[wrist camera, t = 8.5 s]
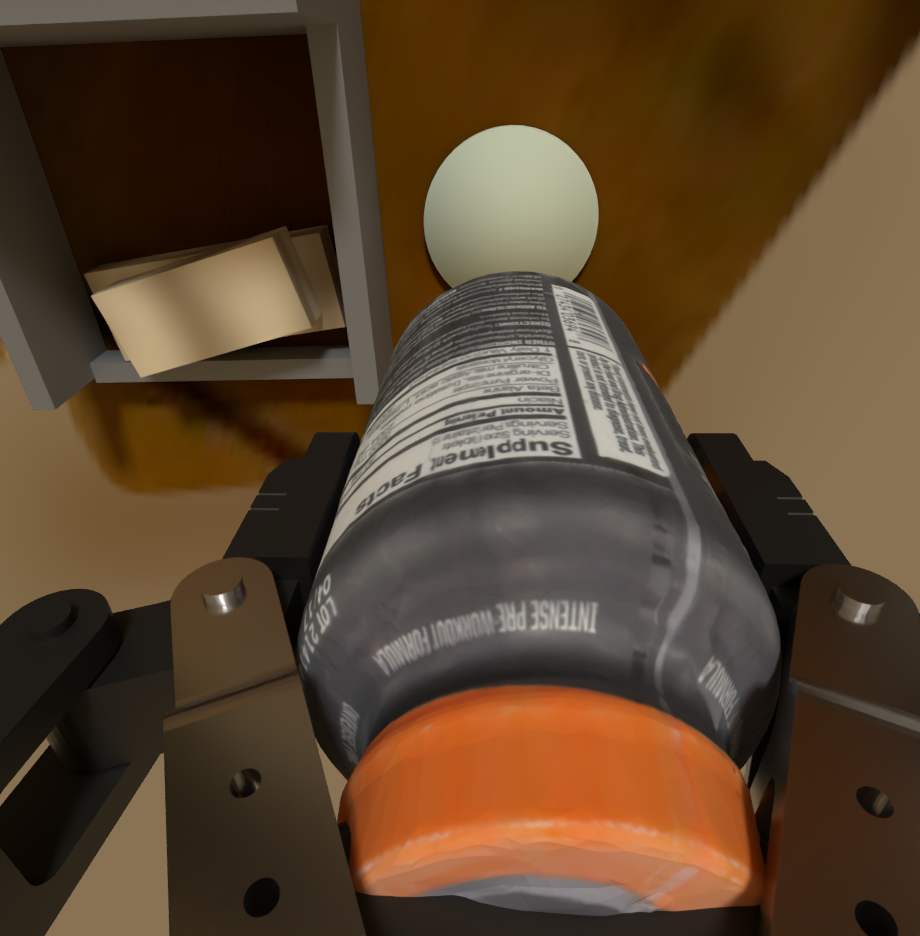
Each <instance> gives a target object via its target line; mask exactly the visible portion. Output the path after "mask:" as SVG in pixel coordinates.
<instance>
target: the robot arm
mask: <svg viewBox="0 0 920 936" xmlns="http://www.w3.org/2000/svg"><path fill="white" fill-rule="evenodd" d="M687 441H688V443H689V444H690V446H691V447H692V450H693V452H694V454H695V455H696V457H697V459H698V461H699V463H700V464H701V466H702V468H703V470H704V472H705V474H706V477H707V479H708V481H709V483H710V485H711V487H712V488H713V490H714V492H715V494H716V496H717V498H718V500H719V502H720V503H721V505H722V506H723V508H724V509H725V511H726V514H727V516H728V519H729V521H730V522H731V524H732V526H733V527H734V529H735V531H736V532H737V534H738V536H739V537H740V540H741V543H742V544H743V546H744V547H745V549H746V550H747V552H748V555H749V557H750V560H751V562H752V565H753V567H754V568H755V570H756V571H757V573H758V575H759V578H760V580H761V582H762V584H763V585H764V587H765V590H766V592H767V595H768V597H769V599H770V602H771V604H772V607H773V609H774V612H775V615H776V619H777V624H778V628H779V633H780V641H781V650H782V673H781V681H780V688H779V695H778V699H777V702H776V706H775V709H774V713H773V716H772V719H771V721H770V723H769V726H768V728H767V730H766V732H765V734H764V736H763V738H762V739H761V741H760V743H759V745H758V746H757V748H756V750H755V751H754V753H753V754H752V755H751V757H750V758H749V760H748V761H747V762H746V768H745V774H744V779H745V782H746V784H747V786H748V789H749V791H750V794H751V799H752V804H753V809H754V814H755V819H756V825H757V829H758V832H759V835H760V848H761V851H762V856H763V860H764V864H765V875H764V886H763V892H762V899H761V905H756V906H730V907H716V908H705V909H695V910H685V911H653V912H650V913H649V912H633V913H621V914H615V915H609V916H590V915H574V914H560V913H548V912H535V911H522V910H515V909H509V908H503V907H499V906H494V905H489V904H485V903H480V902H477V901H474V900H472V899H469V898H467V897H462V896H457V895H442V896H425V897H397V896H380V895H368V894H364V893H360V892H356V891H354V887H353V883H352V879H351V875H350V871H349V860H350V849H351V831H350V827H349V825H348V823H347V822H346V821H345V822H342V823H340V824H337V821H336V817H335V813H334V809H333V805H332V801H331V797H330V794H329V790H328V786H327V782H326V778H325V774H324V770H323V766H322V762H321V759H320V755H319V751H318V747H317V743H316V739H315V735H314V731H313V728H312V724H311V720H310V716H309V712H308V708H307V704H306V700H305V697H304V693H303V689H302V685H301V681H300V677H299V673H298V670H297V667H296V648H297V638H298V633H299V629H300V625H301V621H302V617H303V612H304V608H305V606H306V604H307V602H308V599H309V595H310V592H311V589H312V585H313V582H314V580H315V577H316V574H317V571H318V568H319V566H320V563H321V560H322V557H323V554H324V551H325V548H326V545H327V542H328V539H329V536H330V533H331V530H332V527H333V524H334V520H335V517H336V514H337V511H338V507H339V503H340V499H341V496H342V493H343V490H344V487H345V485H346V482H347V479H348V476H349V473H350V470H351V467H352V465H353V462H354V459H355V457H356V454H357V451H358V448H359V445H360V439H359V436H358V434H357V433H356V432H317V433H316V434H315V435H314V437H313V439H312V441H311V443H310V445H309V447H308V450H307V452H306V454H305V456H304V458H303V459H287V460H286V461H284V462H283V463H282V464H281V465H279V466H278V467H277V468H275V469H274V470H273V471H272V472H270V473H269V474H268V476H267V478H266V480H265V481H264V483H263V485H262V487H261V489H260V491H259V495H257V496H256V498H255V500H254V501H253V503H252V505H251V510H249V511H248V513H247V514H246V516H245V518H244V520H243V522H242V523H241V525H240V527H239V529H238V531H237V533H236V535H235V537H234V538H233V540H232V542H231V544H230V546H229V548H228V549H227V551H226V553H225V555H224V556H223V558H222V559H221V560H217V561H214V562H211V563H208V564H206V565H204V566H202V567H200V568H198V569H196V570H194V571H193V572H191V573H190V574H189V575H187V576H186V577H185V578H184V579H183V580H182V581H181V582H180V583H179V584H178V585H177V587H176V588H175V590H174V592H173V594H172V597H171V600H169V601H165V602H161V603H158V604H153V605H148V606H144V607H139V608H135V609H130V610H125V611H121V612H116V613H112V611H111V608H110V606H109V604H108V602H107V600H106V599H105V597H104V596H103V595H101V594H100V593H98V592H95V591H93V590H88V589H70V590H64V591H59V592H55V593H52V594H49V595H46V596H44V597H41V598H39V599H36V600H34V601H32V602H30V603H29V604H27V605H25V606H23V607H22V608H20V609H19V610H18V611H16V612H15V613H13V614H12V615H11V616H10V617H9V618H7V619H6V620H5V621H4V622H3V623H2V624H1V625H0V794H1V792H2V791H3V790H4V788H5V787H6V786H7V784H8V783H9V782H10V781H11V780H12V778H13V777H14V776H15V775H16V774H17V772H18V771H19V770H20V769H21V768H22V766H23V765H24V764H25V762H26V761H27V760H28V759H29V758H30V756H31V755H32V754H33V753H34V752H35V750H36V749H37V748H38V747H39V745H40V744H41V743H42V742H43V741H44V740H45V738H46V739H47V740H48V742H49V744H50V745H49V746H48V748H47V749H46V750H45V751H44V753H43V754H42V755H41V756H40V758H39V759H38V760H37V761H36V763H35V764H34V765H33V766H32V768H31V769H30V770H29V771H28V773H27V774H26V775H25V776H24V777H23V779H22V780H21V781H20V783H19V784H18V785H17V786H16V787H15V789H14V790H13V791H12V793H11V794H10V795H9V796H8V797H7V799H6V800H5V801H4V803H3V804H2V805H1V806H0V936H45V934H46V933H47V931H48V930H49V928H50V926H51V925H52V923H53V922H54V920H55V919H56V917H57V915H58V914H59V912H60V911H61V909H62V907H63V906H64V904H65V903H66V901H67V900H68V898H69V897H70V895H71V893H72V892H73V890H74V889H75V887H76V885H77V884H78V882H79V881H80V879H81V878H82V876H83V875H84V873H85V871H86V870H87V868H88V867H89V865H90V863H91V862H92V860H93V859H94V857H95V856H96V854H97V853H98V851H99V849H100V848H101V846H102V845H103V843H104V842H105V840H106V838H107V837H108V835H109V834H110V832H111V831H112V829H113V827H114V826H115V824H116V823H117V821H118V820H119V818H120V817H121V815H122V813H123V812H124V810H125V808H126V807H127V805H128V804H129V802H130V801H131V799H132V798H133V796H134V795H135V793H136V791H137V790H138V788H139V787H140V785H141V783H142V782H143V780H144V779H145V777H146V776H147V774H148V773H149V771H150V769H151V768H152V766H153V765H154V763H155V761H156V760H157V758H158V757H159V755H160V754H162V753H164V775H165V809H166V843H167V876H168V907H169V908H168V909H169V936H920V613H919V612H918V609H917V607H916V605H915V603H914V602H913V600H912V599H911V598H910V596H909V595H908V594H907V593H906V592H905V591H904V590H902V589H901V588H900V587H898V586H897V585H896V584H894V583H893V582H891V581H890V580H888V579H886V578H884V577H882V576H880V575H878V574H876V573H873V572H871V571H868V570H865V569H862V568H859V567H854V566H851V564H850V563H849V561H848V560H847V559H846V557H845V556H844V554H843V553H842V552H841V550H840V549H839V547H838V546H837V545H836V543H835V542H834V540H833V539H832V538H831V536H830V535H829V533H828V532H827V530H826V529H825V528H824V526H823V525H822V523H821V522H820V521H819V519H818V518H817V517H816V516H814V515H813V511H812V509H811V508H810V506H809V505H808V503H807V502H806V501H805V500H802V495H801V494H800V492H799V491H798V489H797V488H796V487H795V485H794V484H793V482H792V481H791V480H790V478H789V477H788V476H787V475H785V474H784V473H782V472H781V471H779V470H778V469H776V468H775V467H774V466H772V465H771V464H769V463H768V462H766V461H753V459H752V458H751V457H750V455H749V453H748V452H747V450H746V449H745V447H744V445H743V444H742V442H741V441H740V439H739V438H738V436H737V435H735V434H733V433H692V434H690V435H689V436H688V438H687Z"/></svg>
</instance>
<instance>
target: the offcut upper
mask: <svg viewBox="0 0 920 936" xmlns="http://www.w3.org/2000/svg"><path fill="white" fill-rule="evenodd" d="M91 297H92V299H93V300H94V302H95V304H96V305H97V307H98V309H99V310H100V312H101V313H102V315H103V317H104V318H105V320H106V322H107V323H108V325H109V327H110V328H111V330H112V331H113V333H114V335H115V336H116V338H117V340H118V341H119V343H120V344H121V346H122V348H123V349H124V351H125V353H126V354H127V356H128V358H129V359H130V361H131V362H132V364H133V366H134V367H135V369H136V371H137V372H138V374H139V375H140V377H141V378H142V377H145V376H148V375H152V374H155V373H159V372H162V371H166V370H169V369H172V368H176V367H179V366H183V365H186V364H190V363H193V362H196V361H200V360H203V359H207V358H210V357H213V356H217V355H220V354H224V353H227V352H231V351H234V350H237V349H241V348H244V347H248V346H251V345H255V344H258V343H261V342H265V341H268V340H272V339H275V338H279V337H282V336H285V335H289V334H292V333H296V332H299V331H302V330H306V329H309V328H312V327H313V325H314V324H315V322H316V321H317V319H318V318H319V316H320V315H321V313H322V310H321V307H320V305H319V302H318V300H317V298H316V295H315V293H314V291H313V288H312V286H311V284H310V281H309V279H308V277H307V274H306V272H305V269H304V267H303V265H302V262H301V260H300V258H299V255H298V253H297V251H296V248H295V246H294V244H293V241H292V239H291V236H290V234H289V232H288V229H287V227H286V226H284V227H281V228H278V229H275V230H272V231H269V232H266V233H263V234H260V235H257V236H254V237H251V238H248V239H245V240H241V241H238V242H235V243H232V244H229V245H226V246H223V247H220V248H217V249H214V250H211V251H208V252H205V253H202V254H199V255H195V256H192V257H189V258H186V259H183V260H180V261H177V262H174V263H171V264H168V265H165V266H162V267H159V268H156V269H153V270H149V271H146V272H143V273H140V274H137V275H134V276H131V277H128V278H125V279H122V280H119V281H116V282H114V283H112V284H110V285H109V286H107V287H105V288H104V289H102V290H100V291H98V292H97V293H95V294H93V295H92V296H91Z"/></svg>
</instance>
